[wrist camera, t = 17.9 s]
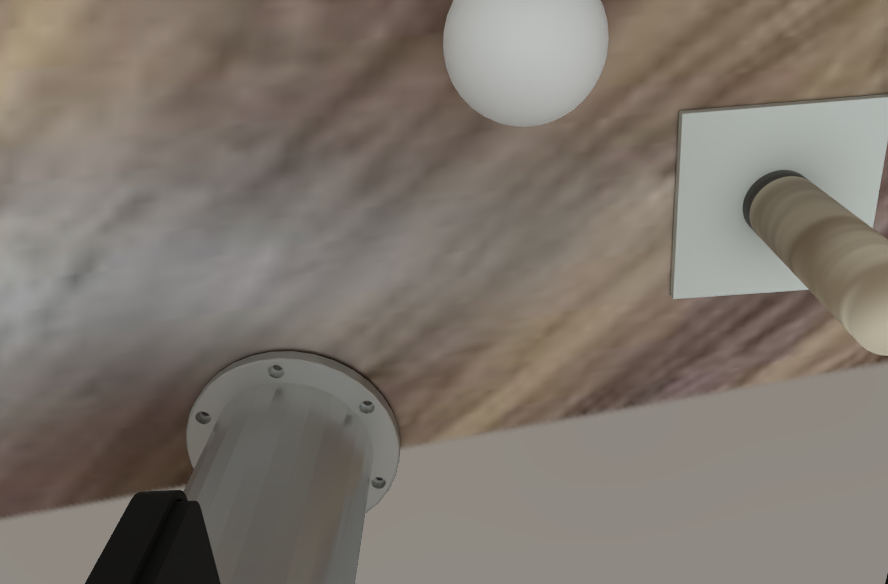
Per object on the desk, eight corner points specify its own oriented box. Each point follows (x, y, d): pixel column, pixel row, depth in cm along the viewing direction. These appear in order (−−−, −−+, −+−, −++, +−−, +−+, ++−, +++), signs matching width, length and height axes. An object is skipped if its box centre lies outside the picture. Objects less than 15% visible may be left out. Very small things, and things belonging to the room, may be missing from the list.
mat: (857, 280, 42) (863, 285, 41) (670, 294, 42) (673, 298, 41) (888, 94, 37) (895, 96, 37) (679, 110, 38) (682, 113, 37)
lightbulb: (487, -82, 34) (502, -81, 24) (602, -9, 35) (660, 20, 25) (421, 43, 36) (409, 91, 26) (530, 107, 38) (558, 176, 28)
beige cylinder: (808, 232, 40) (941, 352, 29) (739, 238, 40) (845, 358, 29) (817, 167, 38) (960, 267, 27) (745, 172, 38) (859, 275, 28)
